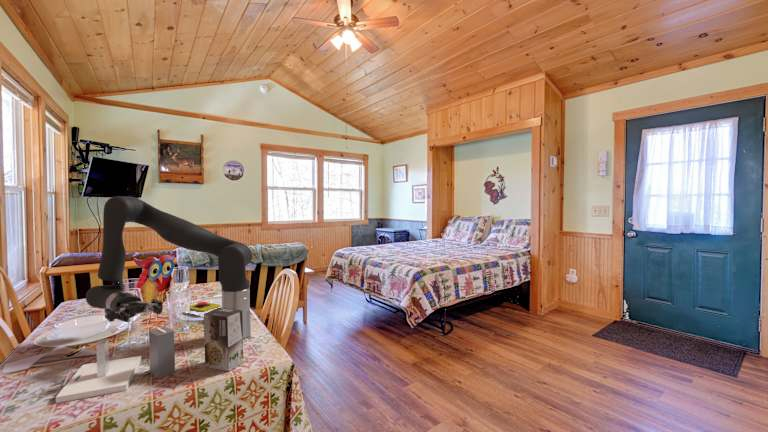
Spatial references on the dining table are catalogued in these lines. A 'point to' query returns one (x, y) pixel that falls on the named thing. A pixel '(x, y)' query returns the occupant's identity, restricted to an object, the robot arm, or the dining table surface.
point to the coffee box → (223, 338)
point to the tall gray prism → (162, 352)
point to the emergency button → (203, 306)
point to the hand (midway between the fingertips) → (144, 314)
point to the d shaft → (102, 358)
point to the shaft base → (99, 380)
